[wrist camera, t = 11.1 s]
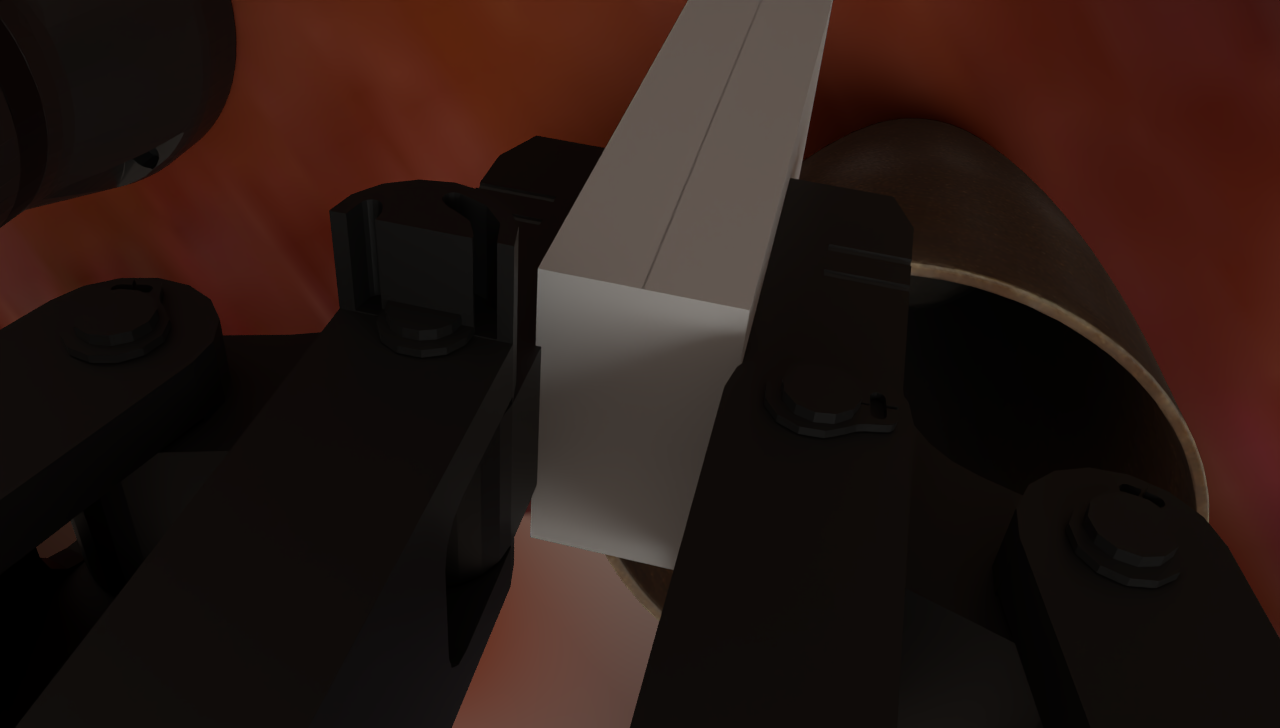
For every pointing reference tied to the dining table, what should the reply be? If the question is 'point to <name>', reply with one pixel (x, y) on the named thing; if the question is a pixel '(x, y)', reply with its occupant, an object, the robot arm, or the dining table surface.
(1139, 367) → the plant pot
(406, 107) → the dining table surface
